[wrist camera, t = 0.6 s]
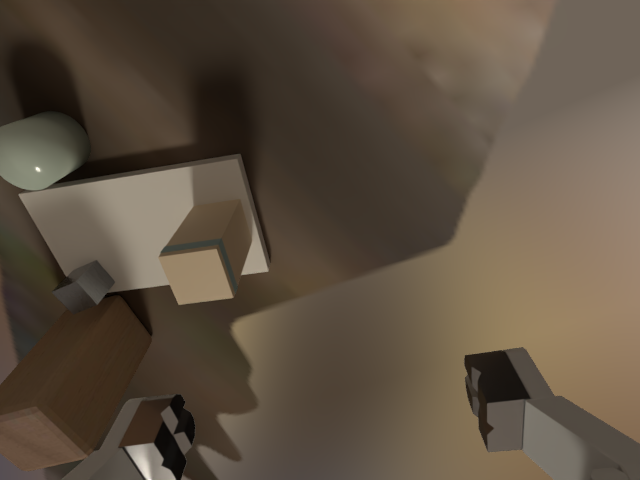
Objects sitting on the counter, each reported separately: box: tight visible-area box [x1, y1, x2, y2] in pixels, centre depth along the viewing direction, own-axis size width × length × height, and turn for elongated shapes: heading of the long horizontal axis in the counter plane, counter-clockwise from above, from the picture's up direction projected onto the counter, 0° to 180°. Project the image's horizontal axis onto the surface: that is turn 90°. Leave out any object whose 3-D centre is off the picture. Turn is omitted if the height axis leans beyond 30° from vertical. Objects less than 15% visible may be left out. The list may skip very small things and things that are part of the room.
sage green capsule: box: [0, 111, 91, 190], centre depth 45 cm, size 7×7×7 cm
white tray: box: [18, 154, 270, 293], centre depth 53 cm, size 16×28×2 cm, turn 100°
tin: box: [52, 260, 115, 315], centre depth 53 cm, size 4×4×5 cm
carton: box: [158, 199, 252, 305], centre depth 46 cm, size 6×6×12 cm
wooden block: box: [0, 295, 152, 471], centre depth 53 cm, size 10×10×20 cm
